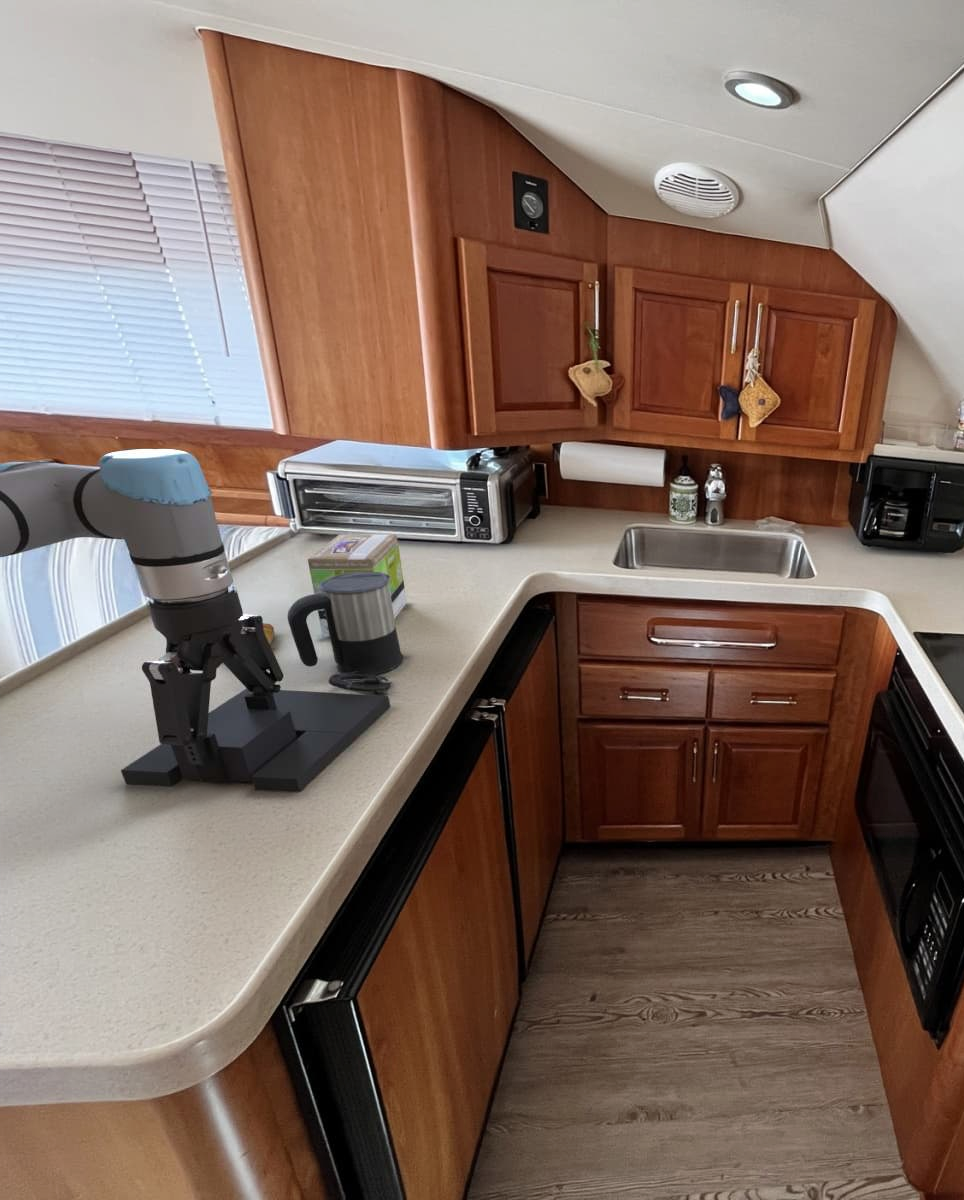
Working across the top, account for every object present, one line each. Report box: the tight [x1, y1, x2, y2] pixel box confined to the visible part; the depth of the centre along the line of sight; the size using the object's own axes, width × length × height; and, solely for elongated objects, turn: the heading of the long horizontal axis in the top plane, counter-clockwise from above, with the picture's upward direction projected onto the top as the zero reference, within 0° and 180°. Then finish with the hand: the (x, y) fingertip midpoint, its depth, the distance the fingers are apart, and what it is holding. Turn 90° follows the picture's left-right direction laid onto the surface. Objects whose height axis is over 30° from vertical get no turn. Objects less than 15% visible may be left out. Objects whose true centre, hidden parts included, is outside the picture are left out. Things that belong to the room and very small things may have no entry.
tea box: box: [307, 533, 407, 637], centre depth 116 cm, size 15×10×15 cm, turn 17°
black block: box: [171, 707, 297, 783], centre depth 79 cm, size 8×8×5 cm
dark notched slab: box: [120, 687, 391, 793], centre depth 84 cm, size 20×19×2 cm
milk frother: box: [287, 571, 405, 695], centre depth 98 cm, size 14×16×15 cm
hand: (243, 758), depth 80 cm, fingers closed on black block, 8 cm apart
